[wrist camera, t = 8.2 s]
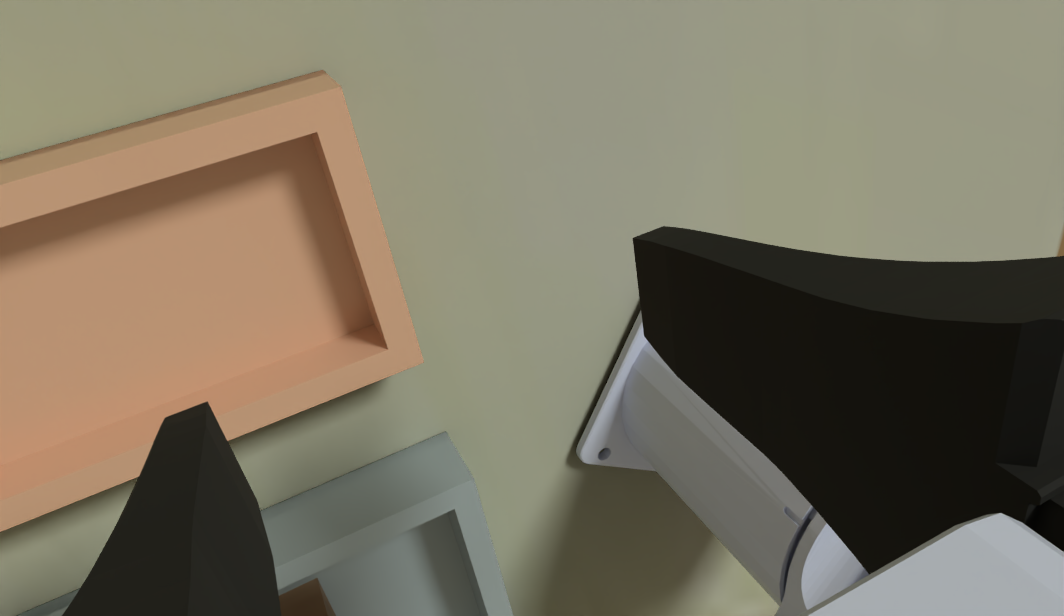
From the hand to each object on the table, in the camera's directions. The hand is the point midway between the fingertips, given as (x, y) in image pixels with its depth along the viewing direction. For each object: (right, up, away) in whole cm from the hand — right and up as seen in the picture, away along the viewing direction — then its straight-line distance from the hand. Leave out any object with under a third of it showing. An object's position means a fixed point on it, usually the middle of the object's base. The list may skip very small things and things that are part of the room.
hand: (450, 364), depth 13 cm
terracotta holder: (-9, +1, +7) cm, 11 cm away
